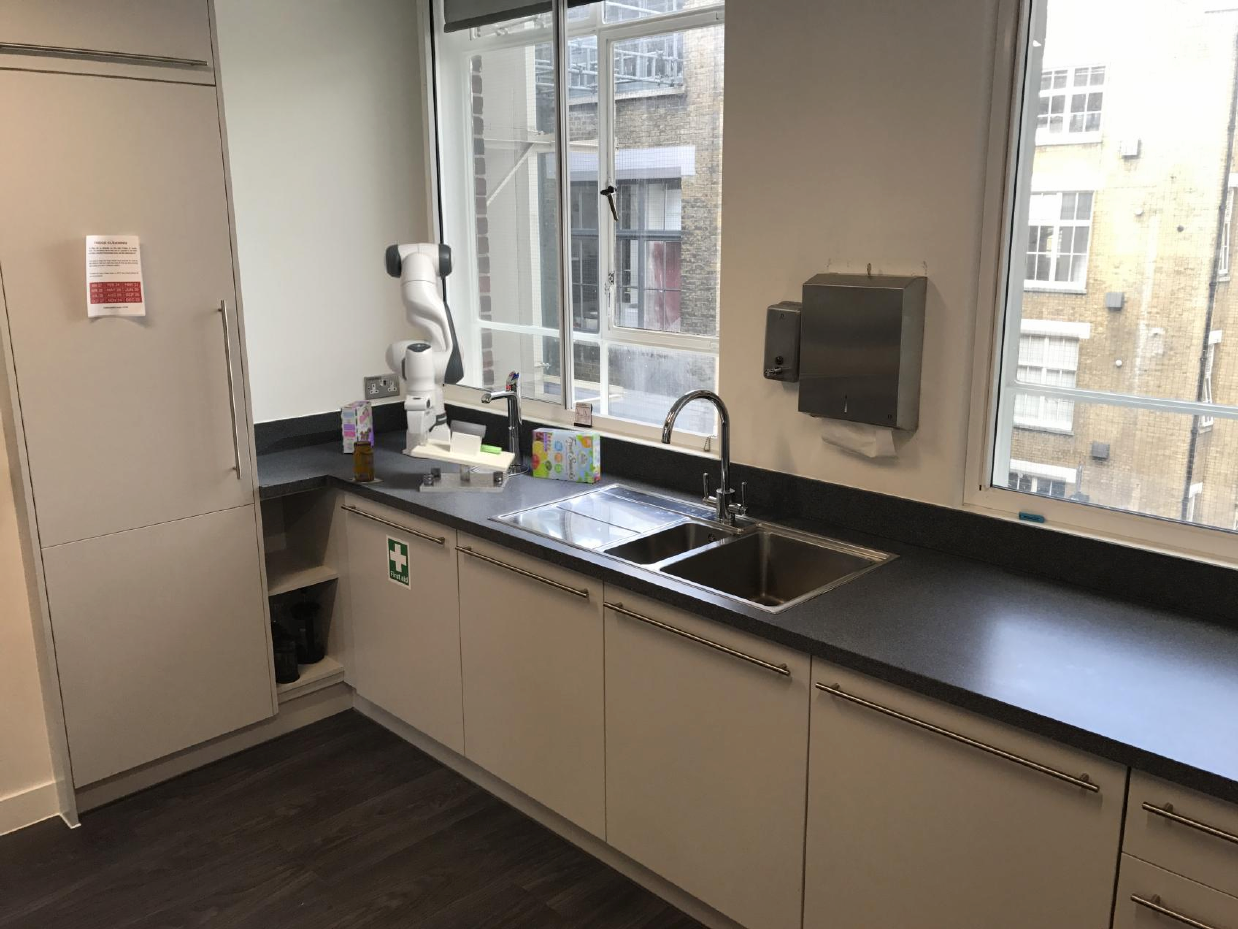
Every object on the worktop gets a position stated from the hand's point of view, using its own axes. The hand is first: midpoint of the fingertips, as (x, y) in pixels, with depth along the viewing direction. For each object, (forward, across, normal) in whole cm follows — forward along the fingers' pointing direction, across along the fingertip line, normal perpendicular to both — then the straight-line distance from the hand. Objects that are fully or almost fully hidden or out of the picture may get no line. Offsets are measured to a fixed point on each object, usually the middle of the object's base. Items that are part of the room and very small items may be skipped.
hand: (424, 444), depth 302 cm
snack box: (+13, -9, +42) cm, 45 cm away
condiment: (+13, -5, -20) cm, 24 cm away
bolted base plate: (+12, 0, +12) cm, 17 cm away
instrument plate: (+4, 0, +12) cm, 13 cm away
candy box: (+12, -46, -34) cm, 59 cm away
